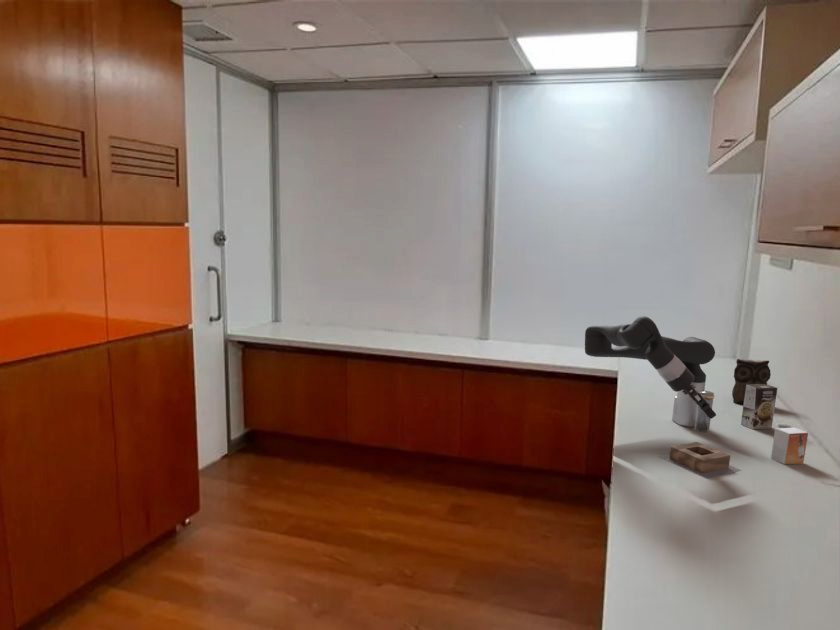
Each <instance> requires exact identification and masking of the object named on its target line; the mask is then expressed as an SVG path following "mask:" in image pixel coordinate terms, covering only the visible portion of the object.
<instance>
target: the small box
mask: <svg viewBox="0 0 840 630" xmlns="http://www.w3.org/2000/svg"><path fill="white" fill-rule="evenodd" d="M808 436H809V433H808V432H807V431H805V430H802V429H799V428H797V427H781V428H777V427H776V428H774V435H773V442H772V447H771V448H772V449H771V454H770V458H771V459H772V460H774V461H777V462H778V463H780V464H783V465H792V464H793V465H795V464H796V465H797V464H799V465H800V464H804V462H805V455H806V448H807V443H808Z"/></svg>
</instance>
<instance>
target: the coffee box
mask: <svg viewBox="0 0 840 630" xmlns="http://www.w3.org/2000/svg"><path fill="white" fill-rule="evenodd" d="M777 393H778V387H776V386H773V385H770V384H767V385H766V384H746V391H745V398H744V405H742V414H741V420H740V425H741V426H744V427H747V428H749V429H752V430H766V429H767V430H768V429H772V428H773V422H774V415H775V409H776V401H777Z"/></svg>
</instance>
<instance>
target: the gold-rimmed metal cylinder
mask: <svg viewBox="0 0 840 630" xmlns="http://www.w3.org/2000/svg"><path fill="white" fill-rule="evenodd" d="M700 393H701V394H702V395H703V396H704V398H705V401H706V402H707V403H709V405H710V408H711V409H712V410H713V403H714V399H715V393H714V392H712V391H710V390H704V391H700ZM703 404H705V403H703ZM703 404H702V405H703ZM702 405H701V406H702ZM711 421H712V420H711V419H710V418H709V417H708V416H707V415H706V413H705V412H704V411H703V410H701V409H700V407H699V406H698V408H697V416H696V423H695V427H694V430H696V431H698V432H701V433H709V432H710V427H711Z"/></svg>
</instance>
